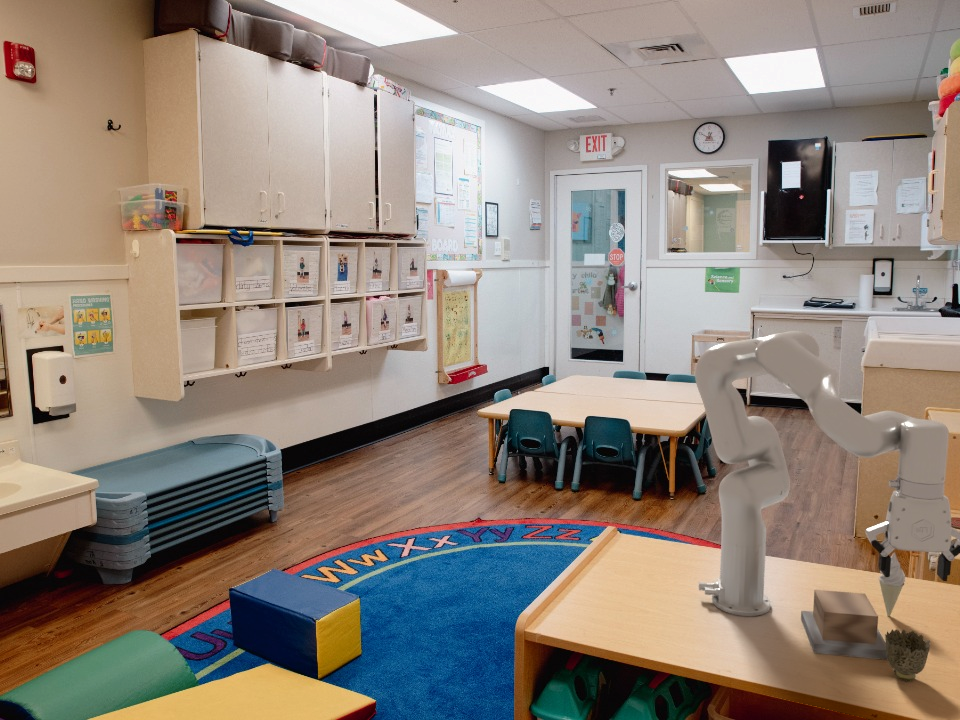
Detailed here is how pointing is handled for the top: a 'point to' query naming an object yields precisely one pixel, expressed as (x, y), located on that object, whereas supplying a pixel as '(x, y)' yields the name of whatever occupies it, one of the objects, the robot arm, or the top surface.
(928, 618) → the top surface
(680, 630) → the top surface
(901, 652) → the cup
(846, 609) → the brown block on base
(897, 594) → the ice cream cone
